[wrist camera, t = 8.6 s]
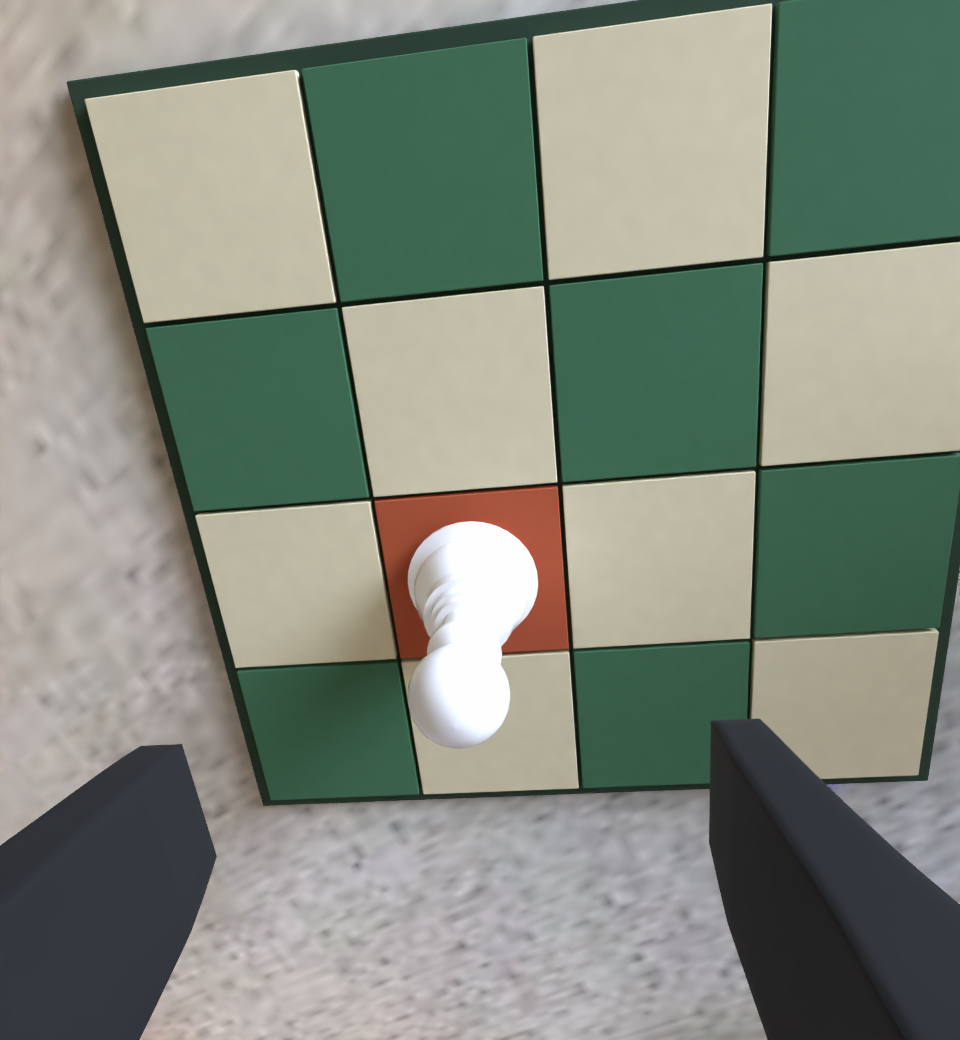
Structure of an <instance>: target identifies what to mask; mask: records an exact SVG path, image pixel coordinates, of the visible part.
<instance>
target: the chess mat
mask: <svg viewBox="0 0 960 1040" xmlns="http://www.w3.org/2000/svg"><path fill="white" fill-rule="evenodd" d="M67 85H68V89H69V93H70V96H71V100H72V104H73V107H74V111H75V115H76V118H77V122H78V126H79V129H80V133H81V137H82V140H83V144H84V148H85V151H86V155H87V159H88V162H89V166H90V170H91V174H92V177H93V181H94V185H95V188H96V192H97V196H98V199H99V203H100V207H101V210H102V214H103V218H104V221H105V225H106V229H107V232H108V236H109V240H110V243H111V247H112V251H113V254H114V258H115V262H116V266H117V269H118V273H119V277H120V280H121V284H122V288H123V291H124V295H125V299H126V302H127V306H128V310H129V313H130V317H131V321H132V324H133V328H134V332H135V335H136V339H137V343H138V346H139V350H140V354H141V357H142V361H143V365H144V369H145V372H146V376H147V380H148V383H149V387H150V391H151V394H152V398H153V402H154V405H155V409H156V413H157V416H158V420H159V424H160V427H161V431H162V435H163V438H164V442H165V446H166V449H167V453H168V457H169V461H170V464H171V468H172V472H173V475H174V479H175V483H176V486H177V490H178V494H179V497H180V501H181V505H182V508H183V512H184V516H185V519H186V523H187V527H188V530H189V534H190V538H191V541H192V545H193V549H194V552H195V556H196V560H197V564H198V567H199V571H200V575H201V578H202V582H203V586H204V589H205V593H206V597H207V600H208V604H209V608H210V611H211V615H212V619H213V622H214V626H215V630H216V633H217V637H218V641H219V644H220V648H221V652H222V656H223V659H224V663H225V667H226V670H227V674H228V678H229V681H230V685H231V689H232V692H233V696H234V700H235V703H236V707H237V711H238V714H239V718H240V722H241V725H242V729H243V733H244V736H245V740H246V744H247V747H248V751H249V755H250V759H251V762H252V766H253V770H254V773H255V777H256V781H257V784H258V788H259V792H260V795H261V799H262V803H263V806H268V805H294V804H321V803H347V802H373V801H400V800H426V799H452V798H479V797H505V796H531V795H558V794H584V793H610V792H637V791H663V790H689V789H710V742H711V721H713V720H736V719H758V718H759V719H761V720H762V721H763V722H764V723H765V724H766V725H767V726H768V727H769V728H770V729H771V730H772V731H773V732H774V733H775V734H776V735H777V736H778V737H779V738H780V739H781V740H782V741H783V742H784V743H785V744H786V745H787V746H788V747H789V748H790V749H791V750H792V751H793V752H794V753H795V754H796V755H797V756H798V757H799V758H800V759H801V760H802V761H803V762H804V763H805V764H806V765H807V766H808V767H809V768H810V769H811V770H812V771H813V772H814V773H815V774H816V775H817V776H818V777H819V778H820V779H821V780H822V781H823V782H824V783H825V784H847V783H874V782H900V781H926V780H928V775H929V769H930V762H931V755H932V749H933V742H934V735H935V729H936V722H937V715H938V709H939V702H940V695H941V689H942V682H943V675H944V669H945V662H946V655H947V649H948V642H949V636H950V629H951V622H952V616H953V609H954V602H955V596H956V589H957V582H958V576H959V569H960V0H637V1H630V2H623V3H615V4H608V5H601V6H594V7H587V8H580V9H573V10H566V11H559V12H552V13H545V14H538V15H531V16H524V17H517V18H510V19H503V20H496V21H489V22H482V23H475V24H468V25H461V26H454V27H447V28H440V29H433V30H426V31H418V32H411V33H404V34H397V35H390V36H383V37H376V38H369V39H362V40H355V41H348V42H341V43H334V44H327V45H320V46H313V47H306V48H299V49H292V50H285V51H278V52H271V53H264V54H257V55H250V56H243V57H236V58H228V59H221V60H214V61H207V62H200V63H193V64H186V65H179V66H172V67H165V68H158V69H151V70H144V71H137V72H130V73H123V74H116V75H109V76H102V77H95V78H88V79H81V80H74V81H68V82H67ZM470 521H472V522H483V523H487V524H491V525H494V526H497V527H499V528H502V529H504V530H506V531H508V532H509V533H511V534H512V535H513V536H515V537H516V538H517V539H519V541H520V542H521V543H522V544H523V545H524V546H525V547H526V548H527V550H528V551H529V553H530V555H531V557H532V558H533V560H534V563H535V566H536V569H537V576H538V590H537V596H536V599H535V602H534V605H533V607H532V609H531V610H530V612H529V614H528V615H527V617H526V618H525V619H524V620H523V621H522V622H521V623H520V624H519V625H518V626H517V627H516V628H515V629H514V630H513V631H512V632H511V634H510V636H509V637H508V639H507V641H506V642H505V643H504V644H503V645H502V646H501V650H502V658H501V663H500V665H501V667H502V668H503V670H504V672H505V673H506V676H507V679H508V682H509V689H510V704H509V709H508V712H507V715H506V718H505V720H504V722H503V723H502V725H501V726H500V728H499V729H498V731H497V732H496V733H495V734H494V735H493V736H492V737H490V738H489V739H488V740H486V741H485V742H483V743H481V744H479V745H477V746H474V747H470V748H463V749H454V748H448V747H444V746H441V745H438V744H436V743H434V742H432V741H431V740H429V739H428V738H426V737H425V736H424V735H423V734H422V733H421V732H420V730H419V729H418V727H417V726H416V724H415V723H414V722H413V719H412V717H411V715H410V711H409V706H408V701H407V698H408V685H409V682H410V678H411V676H412V674H413V672H414V670H415V668H416V666H417V665H418V664H419V662H420V661H421V660H422V659H423V658H424V657H425V656H426V655H427V647H428V643H429V640H430V637H429V635H428V633H427V631H426V628H425V626H424V623H423V621H422V620H421V618H420V616H419V613H418V611H417V609H416V607H415V606H414V604H413V601H412V599H411V596H410V593H409V588H408V570H409V567H410V563H411V559H412V557H413V555H414V554H415V552H416V550H417V548H418V547H419V546H420V544H421V543H422V542H423V541H424V540H425V539H426V538H427V537H428V536H430V535H431V534H432V533H433V532H435V531H437V530H439V529H441V528H443V527H445V526H448V525H451V524H455V523H459V522H470Z"/></svg>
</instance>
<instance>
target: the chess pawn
mask: <svg viewBox="0 0 960 1040" xmlns="http://www.w3.org/2000/svg"><path fill="white" fill-rule="evenodd" d="M408 588H409V593H410V596H411V599H412V601H413V604H414V606H415V607H416V609H417V611H418V613H419V616H420V618H421V620H422V621H423V623H424V626H425V628H426V631H427V633H428V635H429V637H430V640H429V643H428V647H427V655H426V656H425V657H424V658H423V659H422V660H421V661H420V662H419V664H418V665H417V666H416V668H415V670H414V672H413V674H412V676H411V678H410V682H409V685H408V698H407V701H408V706H409V711H410V715H411V717H412V719H413V722H414V723H415V724H416V726H417V727H418V729H419V730H420V732H421V733H422V734H423V735H424V736H425V737H426V738H428V739H429V740H431V741H432V742H434V743H436V744H438V745H441V746H444V747H448V748H454V749H463V748H470V747H474V746H477V745H479V744H481V743H483V742H485V741H486V740H488V739H489V738H490V737H492V736H493V735H494V734H495V733H496V732H497V731H498V729H499V728H500V726H501V725H502V723H503V722H504V720H505V718H506V715H507V712H508V709H509V704H510V689H509V682H508V679H507V676H506V673H505V672H504V670H503V668H502V667H501V665H500V663H501V658H502V650H501V646H502V645H503V644H504V643H505V642H506V641H507V639H508V637H509V636H510V634H511V632H512V631H513V630H514V629H515V628H516V627H517V626H518V625H519V624H520V623H521V622H522V621H523V620H524V619H525V618H526V617H527V615H528V614H529V612H530V610H531V609H532V607H533V605H534V602H535V599H536V596H537V590H538V576H537V569H536V566H535V563H534V560H533V558H532V557H531V555H530V553H529V551H528V550H527V548H526V547H525V546H524V545H523V544H522V543H521V542H520V541H519V539H517V538H516V537H515V536H513V535H512V534H511V533H509V532H508V531H506V530H504V529H502V528H499V527H497V526H494V525H491V524H487V523H483V522H472V521H470V522H459V523H455V524H451V525H448V526H445V527H443V528H441V529H439V530H437V531H435V532H433V533H432V534H431V535H430V536H428V537H427V538H426V539H425V540H424V541H423V542H422V543H421V544H420V546H419V547H418V548H417V550H416V552H415V554H414V555H413V557H412V559H411V563H410V567H409V570H408Z"/></svg>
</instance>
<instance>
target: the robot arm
mask: <svg viewBox="0 0 960 1040" xmlns="http://www.w3.org/2000/svg"><path fill="white" fill-rule="evenodd" d="M709 844H710V848H711V853H712V857H713V862H714V866H715V871H716V875H717V879H718V884H719V888H720V892H721V897H722V901H723V905H724V909H725V913H726V918H727V922H728V925H729V928H730V931H731V934H732V937H733V940H734V943H735V946H736V949H737V952H738V955H739V958H740V961H741V963H742V966H743V969H744V972H745V975H746V978H747V981H748V984H749V987H750V990H751V993H752V996H753V998H754V1001H755V1004H756V1007H757V1010H758V1013H759V1016H760V1019H761V1022H762V1024H763V1027H764V1030H765V1033H766V1036H767V1039H768V1040H960V904H958V903H957V902H956V901H955V900H954V899H952V898H951V897H950V896H949V895H948V894H947V893H945V892H944V891H943V890H942V889H941V888H939V887H938V886H937V885H936V884H935V883H933V882H932V881H931V880H930V879H929V878H927V877H926V876H925V875H924V874H923V873H922V872H921V871H919V870H918V869H917V868H916V867H915V866H914V865H913V864H911V863H910V862H909V861H908V860H907V859H906V858H905V857H903V856H902V855H901V854H900V853H899V852H898V851H897V850H896V849H894V848H893V847H892V846H891V845H890V844H889V843H888V842H887V841H886V840H885V839H884V838H882V837H881V836H880V835H879V834H878V833H877V832H876V831H875V830H874V829H873V828H872V827H871V826H869V825H868V824H867V823H866V822H865V821H864V820H863V819H862V818H861V817H860V816H859V815H857V814H856V813H855V812H854V811H853V810H852V809H851V808H850V807H849V806H848V805H847V804H846V803H845V802H844V801H843V800H842V799H841V798H840V797H838V796H837V795H836V794H835V793H834V792H833V791H832V790H831V789H830V788H829V787H828V786H827V785H826V784H825V783H824V782H823V781H822V780H821V779H820V778H819V777H818V776H817V775H816V774H815V773H814V772H813V771H812V770H811V769H810V768H809V767H808V766H807V765H806V764H805V763H804V762H803V761H802V760H801V759H800V758H799V757H798V756H797V755H796V754H795V753H794V752H793V751H792V750H791V749H790V748H789V747H788V746H787V745H786V744H785V743H784V742H783V741H782V740H781V739H780V738H779V737H778V736H777V735H776V734H775V733H774V732H773V731H772V730H771V729H770V728H769V727H768V726H767V725H766V724H765V723H764V722H763V721H762V720H761V719H759V718H758V719H736V720H713V721H711V742H710V822H709ZM216 857H217V856H216V853H215V850H214V846H213V843H212V840H211V837H210V833H209V830H208V827H207V824H206V821H205V817H204V814H203V811H202V808H201V804H200V801H199V798H198V795H197V791H196V788H195V785H194V782H193V779H192V775H191V772H190V769H189V766H188V762H187V759H186V756H185V753H184V749H183V746H182V744H176V745H154V746H140V747H139V748H137V749H135V750H134V751H132V752H131V753H129V754H127V755H126V756H124V757H123V758H121V759H120V760H118V761H117V762H115V763H114V764H112V765H111V766H110V767H108V768H107V769H105V770H104V771H102V772H101V773H100V774H98V775H97V776H95V777H94V778H93V779H91V780H90V781H88V782H87V783H86V784H84V785H83V786H82V787H80V788H79V789H77V790H76V791H75V792H73V793H72V794H71V795H69V796H68V797H66V798H65V799H64V800H62V801H61V802H60V803H58V804H57V805H56V806H54V807H53V808H51V809H50V810H49V811H47V812H46V813H45V814H43V815H42V816H40V817H39V818H38V819H36V820H35V821H34V822H32V823H31V824H29V825H28V826H27V827H25V828H24V829H23V830H21V831H20V832H18V833H17V834H16V835H14V836H13V837H12V838H10V839H9V840H7V841H6V842H5V843H3V844H2V845H1V846H0V1040H140V1038H141V1035H142V1033H143V1031H144V1029H145V1027H146V1025H147V1023H148V1021H149V1019H150V1017H151V1015H152V1013H153V1011H154V1009H155V1007H156V1005H157V1003H158V1001H159V999H160V996H161V994H162V992H163V990H164V988H165V986H166V984H167V982H168V980H169V978H170V975H171V973H172V971H173V969H174V967H175V965H176V963H177V961H178V959H179V957H180V954H181V952H182V950H183V948H184V946H185V944H186V942H187V939H188V937H189V935H190V933H191V930H192V928H193V925H194V922H195V919H196V917H197V914H198V911H199V908H200V905H201V903H202V900H203V897H204V894H205V891H206V888H207V885H208V882H209V879H210V875H211V872H212V869H213V866H214V863H215V860H216Z"/></svg>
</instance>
